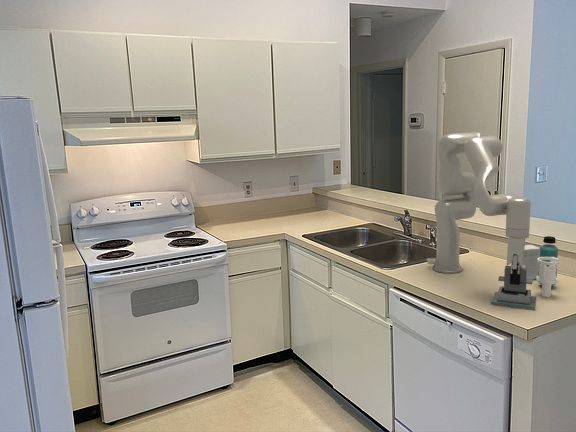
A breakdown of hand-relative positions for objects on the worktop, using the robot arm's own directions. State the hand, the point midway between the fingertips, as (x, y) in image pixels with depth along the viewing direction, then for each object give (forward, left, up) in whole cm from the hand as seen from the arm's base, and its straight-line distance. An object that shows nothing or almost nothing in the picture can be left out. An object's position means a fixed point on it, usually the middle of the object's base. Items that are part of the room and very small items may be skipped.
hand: (515, 281), depth 175 cm
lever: (0, 0, -3) cm, 3 cm away
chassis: (0, 0, -8) cm, 8 cm away
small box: (+2, +30, -8) cm, 31 cm away
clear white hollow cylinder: (+10, +11, -8) cm, 17 cm away
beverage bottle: (+10, +21, -8) cm, 25 cm away
